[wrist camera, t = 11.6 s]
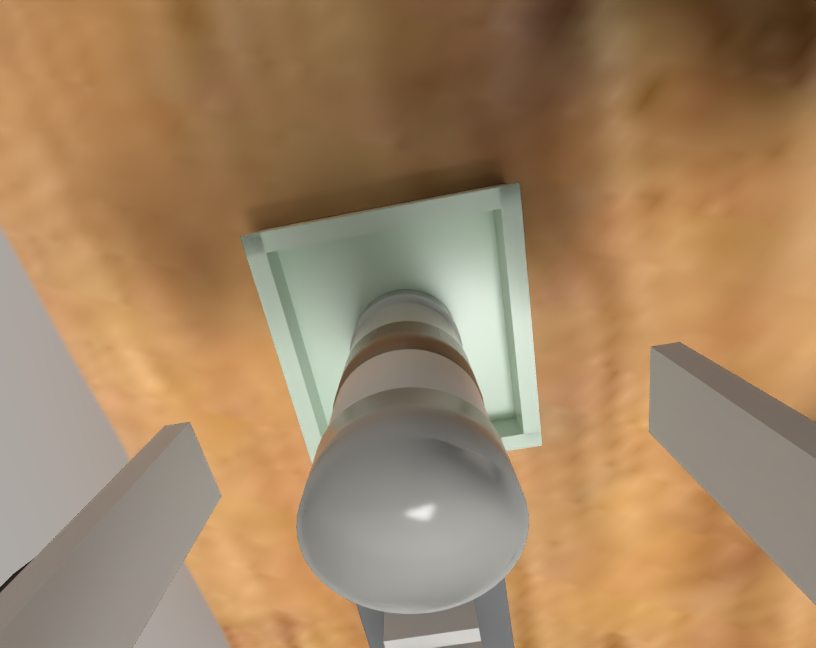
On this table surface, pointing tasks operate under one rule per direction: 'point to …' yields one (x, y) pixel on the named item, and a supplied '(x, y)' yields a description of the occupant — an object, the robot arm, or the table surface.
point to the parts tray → (404, 269)
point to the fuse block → (444, 625)
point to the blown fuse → (410, 470)
